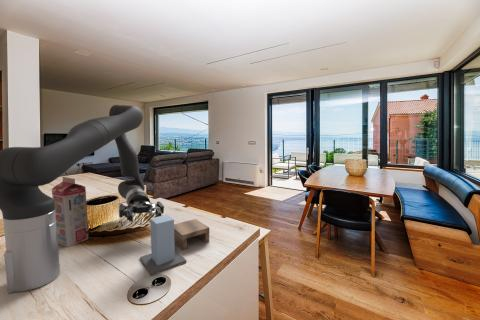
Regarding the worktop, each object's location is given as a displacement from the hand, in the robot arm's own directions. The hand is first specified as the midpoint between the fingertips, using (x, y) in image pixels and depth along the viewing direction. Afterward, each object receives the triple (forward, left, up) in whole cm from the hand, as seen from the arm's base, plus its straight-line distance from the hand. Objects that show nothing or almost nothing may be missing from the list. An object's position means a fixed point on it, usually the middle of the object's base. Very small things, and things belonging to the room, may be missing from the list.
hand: (145, 217), depth 72 cm
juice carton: (-19, +19, -10) cm, 29 cm away
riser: (+13, -5, -10) cm, 17 cm away
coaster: (+1, -12, -10) cm, 15 cm away
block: (+1, -12, -9) cm, 15 cm away
